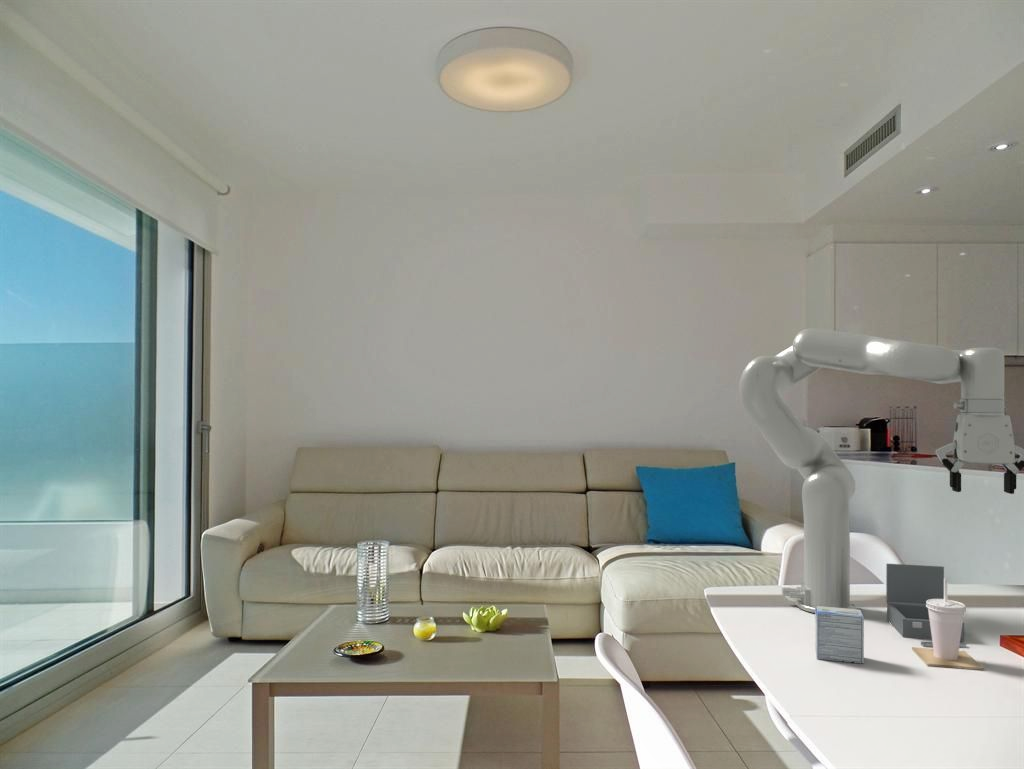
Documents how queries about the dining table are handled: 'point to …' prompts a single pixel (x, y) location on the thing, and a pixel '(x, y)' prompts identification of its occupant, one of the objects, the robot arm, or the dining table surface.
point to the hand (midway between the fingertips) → (982, 492)
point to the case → (913, 597)
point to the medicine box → (839, 634)
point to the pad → (961, 662)
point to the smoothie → (946, 625)
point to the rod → (930, 644)
